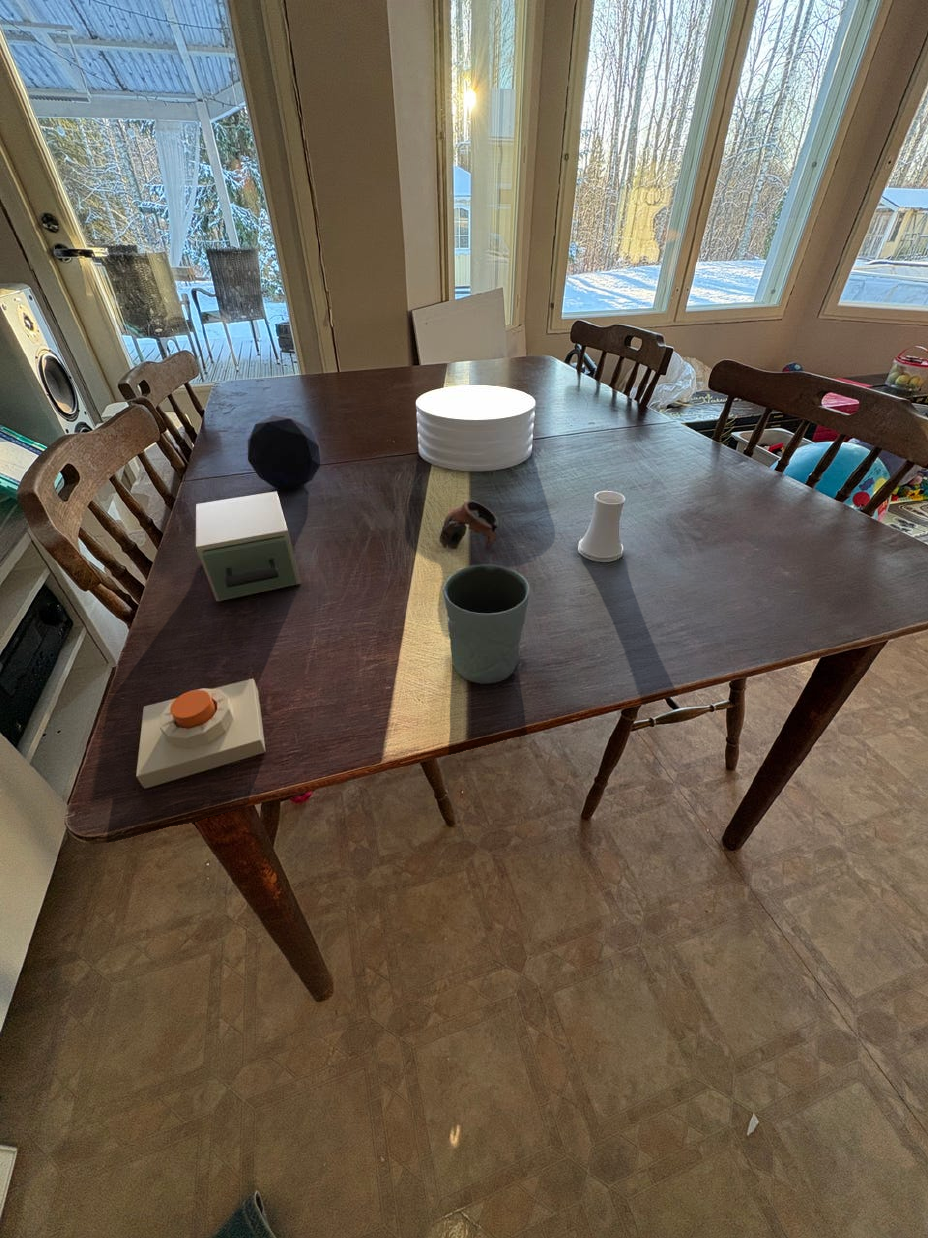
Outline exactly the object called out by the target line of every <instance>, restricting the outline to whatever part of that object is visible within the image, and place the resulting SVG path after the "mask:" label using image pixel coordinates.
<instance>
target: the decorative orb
mask: <svg viewBox="0 0 928 1238" xmlns="http://www.w3.org/2000/svg"><path fill="white" fill-rule="evenodd" d="M247 462H248V463H249V464H250V466H251V467H252V469H253V470H254V472H255V473H256V475H257V476H258V477H259V479H261V481H264V482H265V483H267V484H268V485H270V486H271V487H273V488H274V489H285V490H286V489H287V490H297V489H298V488H300V487H303V486H305V485H306V484H308V483H309V482H311V481H312V480H313V479H314V478H315V476H316V474H317V473H318V472H319V469H320V467H321V465H322V464H321V446H320V444H319V442H318V440H317V438H316V436H315V434H314V432H313V430H312V428H311V427H310V426H308V425H307V424H305V423H303V422H302V421H300V420H299V419H297V418H296V417H292V416H285V415H276V414H272V415H271V416H269V417H267V418H264V419H263V420H261V421H259V422H257V423H255V424H254V426H253V428H252V430H251V433H250V435H249V437H248V439H247Z"/></svg>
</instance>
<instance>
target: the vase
mask: <svg viewBox="0 0 928 1238" xmlns="http://www.w3.org/2000/svg"><path fill="white" fill-rule="evenodd" d="M625 502H626V497H625V496H624V495H623V494H622V493H619V492H617V491H611V490H602V491H598V492H596V493H594V506H593V512H592V516H591V520H590V523H589V526H588V529H587V531H586V533H585V534H584V536H583V537H582V538H581V539H580V540H579V541H578V546H577V550H578V553H579V554H580V555H581V556H583V558H586V559H588V560H590V561H594V562H599V563H609V562H614V561H617V560H619V559H620V558H621V557H622V556H623V551H624V545H623V543H622V542H621V536H620V522H621V521H620V520H621V514H622V510H623V507H624V504H625Z"/></svg>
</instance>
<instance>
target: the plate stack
mask: <svg viewBox="0 0 928 1238" xmlns="http://www.w3.org/2000/svg"><path fill="white" fill-rule="evenodd" d="M415 409H416V422H417V423H416V429H417V443H418V454H419V455H420V457H421V458H422V459H423V460H424V461H425V462H427V463H429V464H431V465H433V466H436V467H439V468H443V469H446V470H447V469H448V470H452V471H460V472H490V471H499V470H504V469H508V468H512V467H514V466H518V465H520V464H522V463H523V462H525V461H527V460H528V459H529V458H530V457H531V455H532V451H533V441H534V434H533V433H534V428H535V427H534V426H535V424H534V422H535V416H536V415H535V410H536V400H535V398H534V397H533V396H532V395H530V394H528V393H526V392H524V391H521V390H518V389H516V388H515V389H514V388H510V387H505V386H497V385H483V384H482V385H481V384H473V385H472V384H471V385H470V384H468V385H455V386H447V387H441V388H436V389H432V390H430V391H428V392H425V393H423V394H421V395H420V396H418V397H417V399H416V400H415Z"/></svg>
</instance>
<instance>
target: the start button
mask: <svg viewBox="0 0 928 1238" xmlns="http://www.w3.org/2000/svg"><path fill="white" fill-rule="evenodd" d="M174 699H175V700H174V702H173V703H172V705H171V708H170V711H171V714H172V716H173V717H174V719H175V721H176V723H177V724H178V726H180V727H182V728H186V729H190V728H194V727H197V726H201V725H203V724H204V723H206V722H207V721H209V720H210V719H211V718H212V717H213V715H214V713H215V709H216V708H215V705H214V703H213V701H212V698H211V696H210V694H209V693H208V692H206V691H203V690H199V689H194V690H193V689H192V690H189V691H186V692H184V693H182V694H180V695H179V696H178V697H176V698H174Z"/></svg>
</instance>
